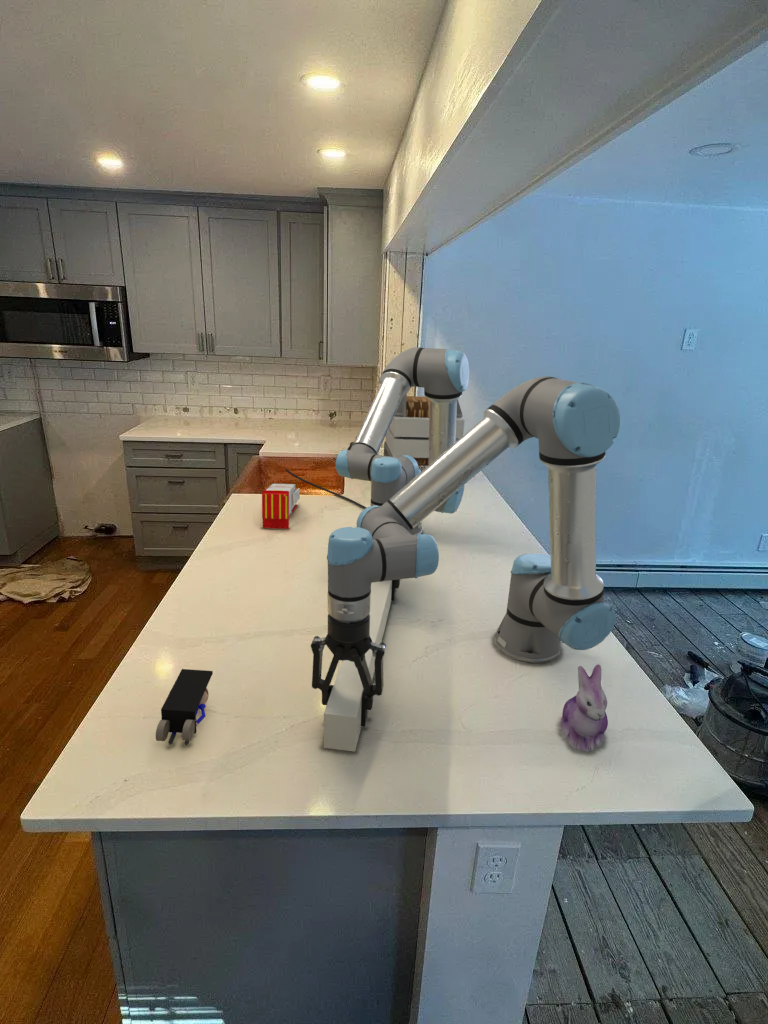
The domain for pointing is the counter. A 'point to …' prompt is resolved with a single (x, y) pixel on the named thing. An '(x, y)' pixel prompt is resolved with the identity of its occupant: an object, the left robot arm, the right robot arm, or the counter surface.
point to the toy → (279, 505)
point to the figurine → (586, 712)
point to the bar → (355, 680)
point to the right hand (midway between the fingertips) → (347, 719)
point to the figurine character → (184, 705)
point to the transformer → (414, 430)
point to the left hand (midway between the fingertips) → (381, 596)
